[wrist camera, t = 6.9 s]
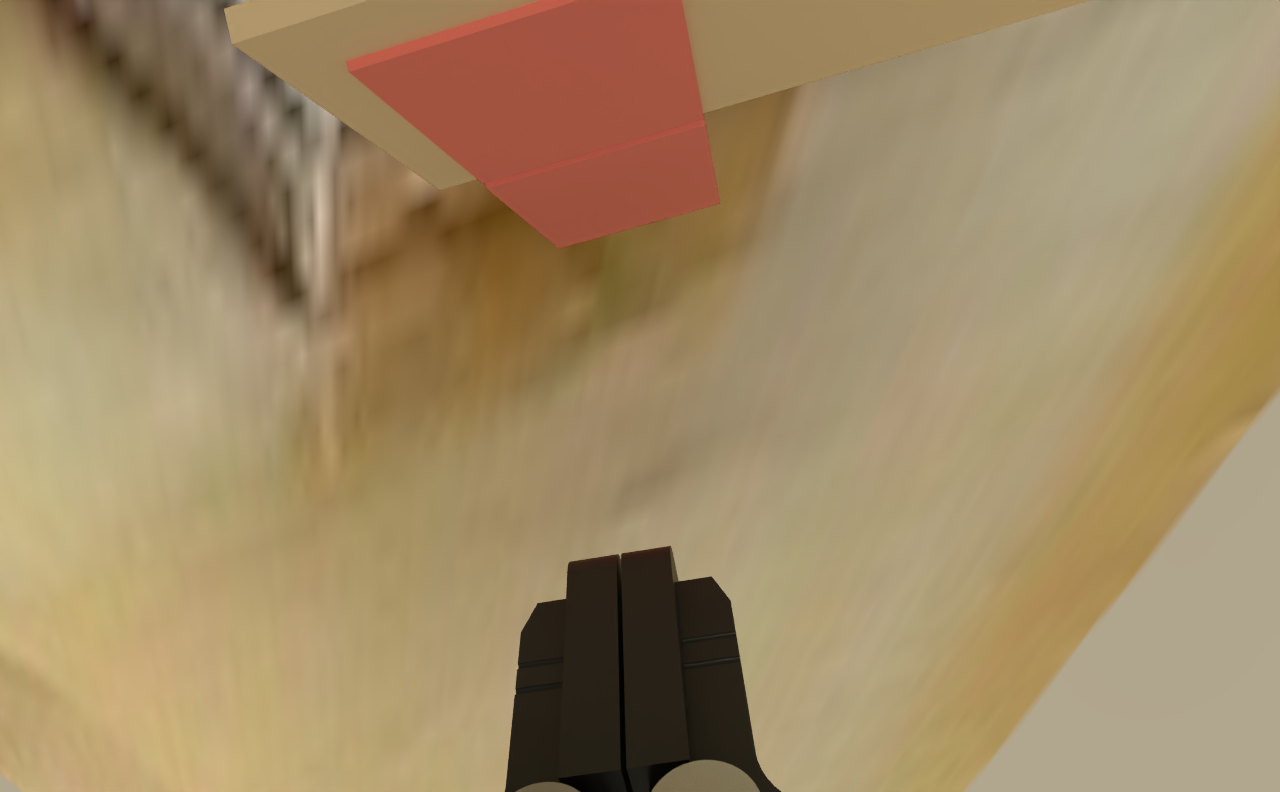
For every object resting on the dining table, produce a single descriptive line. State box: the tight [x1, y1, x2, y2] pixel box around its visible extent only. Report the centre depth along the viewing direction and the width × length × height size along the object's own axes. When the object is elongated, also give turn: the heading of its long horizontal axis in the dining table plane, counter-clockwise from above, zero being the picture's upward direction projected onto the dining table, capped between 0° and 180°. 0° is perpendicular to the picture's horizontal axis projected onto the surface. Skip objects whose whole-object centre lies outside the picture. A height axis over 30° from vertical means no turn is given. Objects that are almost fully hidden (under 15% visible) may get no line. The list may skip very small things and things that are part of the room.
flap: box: [224, 0, 1091, 248], centre depth 23 cm, size 19×18×1 cm
